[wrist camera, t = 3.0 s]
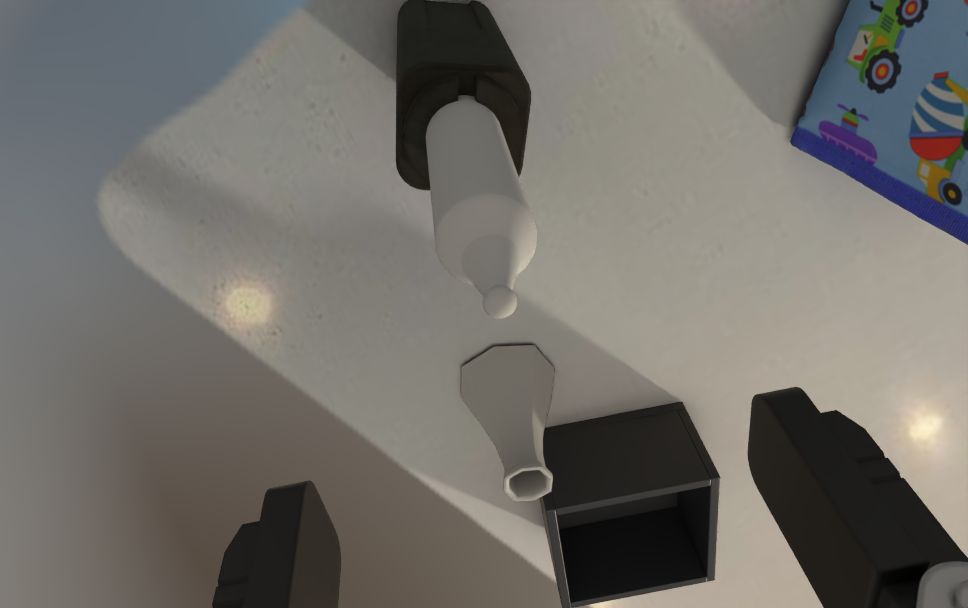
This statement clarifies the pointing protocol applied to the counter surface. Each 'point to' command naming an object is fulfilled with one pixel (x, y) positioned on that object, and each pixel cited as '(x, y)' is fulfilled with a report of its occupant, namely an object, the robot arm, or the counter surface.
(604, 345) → the counter surface
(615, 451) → the bin
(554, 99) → the counter surface
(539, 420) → the flask
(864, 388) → the counter surface
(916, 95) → the lunch bag
